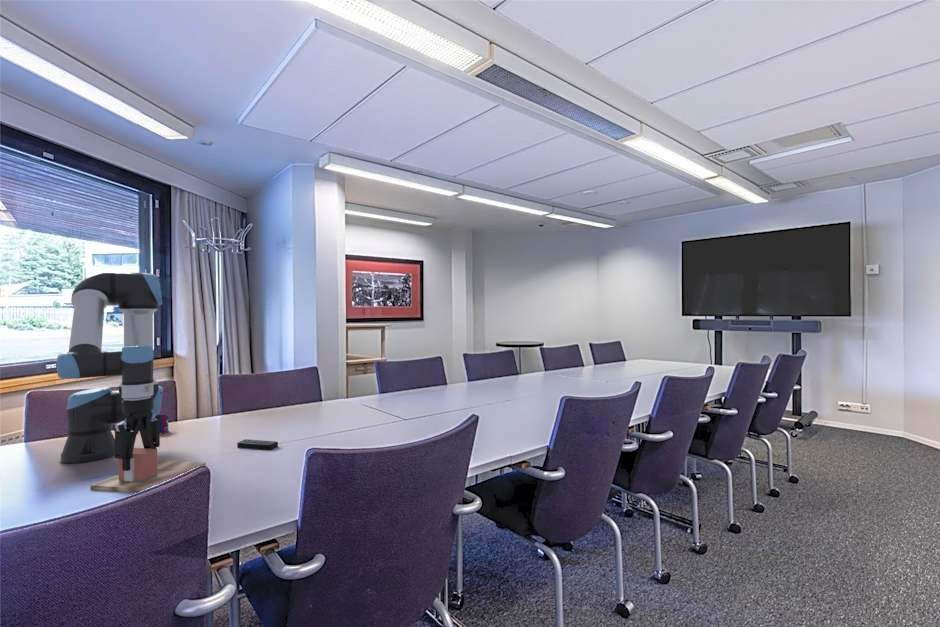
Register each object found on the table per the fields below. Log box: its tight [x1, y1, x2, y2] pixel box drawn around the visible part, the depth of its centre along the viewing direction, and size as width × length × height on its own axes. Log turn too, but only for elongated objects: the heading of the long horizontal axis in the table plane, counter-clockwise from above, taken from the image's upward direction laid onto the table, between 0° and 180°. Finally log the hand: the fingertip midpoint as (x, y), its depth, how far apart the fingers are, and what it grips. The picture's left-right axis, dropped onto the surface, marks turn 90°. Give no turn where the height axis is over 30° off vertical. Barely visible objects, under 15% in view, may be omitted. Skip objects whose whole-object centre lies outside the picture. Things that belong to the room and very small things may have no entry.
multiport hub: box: [236, 439, 279, 451], centre depth 165 cm, size 4×14×2 cm, turn 76°
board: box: [90, 459, 207, 494], centre depth 135 cm, size 18×22×1 cm
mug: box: [159, 414, 169, 434], centre depth 187 cm, size 7×10×7 cm
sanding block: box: [117, 447, 158, 482], centre depth 131 cm, size 8×5×8 cm, turn 80°
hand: (138, 477), depth 131 cm, fingers closed on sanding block, 5 cm apart
